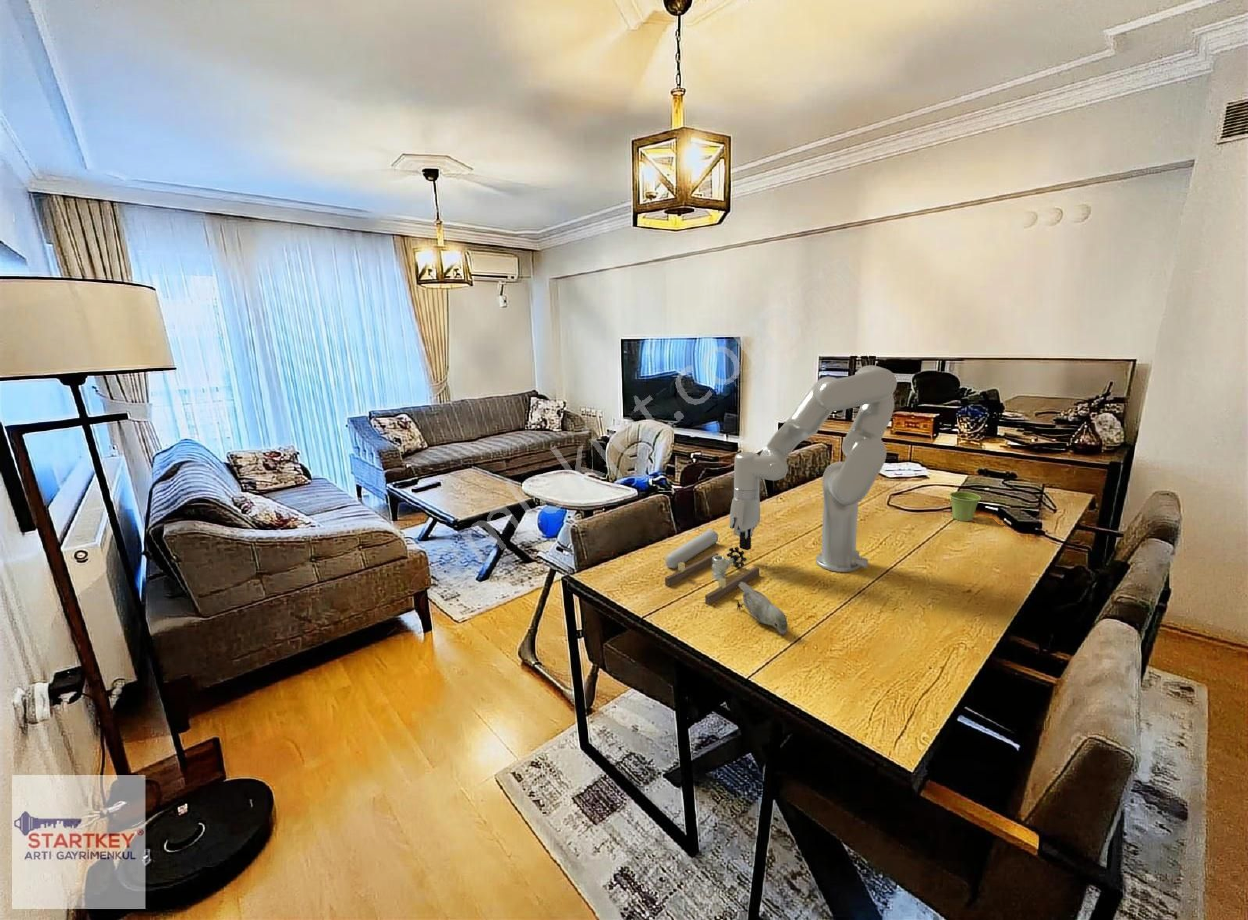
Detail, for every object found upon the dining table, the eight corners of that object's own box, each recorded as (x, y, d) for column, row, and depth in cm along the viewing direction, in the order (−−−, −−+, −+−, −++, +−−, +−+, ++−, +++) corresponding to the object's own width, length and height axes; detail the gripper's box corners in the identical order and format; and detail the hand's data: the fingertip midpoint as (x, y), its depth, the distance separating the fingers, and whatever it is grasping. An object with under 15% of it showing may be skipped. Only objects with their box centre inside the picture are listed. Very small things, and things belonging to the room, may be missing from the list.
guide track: (759, 575, 152) (759, 560, 151) (708, 605, 138) (708, 588, 137) (715, 559, 164) (715, 545, 163) (665, 585, 150) (664, 570, 149)
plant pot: (978, 516, 186) (980, 493, 184) (978, 525, 178) (981, 501, 176) (947, 512, 191) (949, 490, 189) (947, 521, 183) (949, 498, 181)
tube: (677, 561, 157) (720, 533, 175) (663, 552, 160) (707, 526, 178) (673, 574, 159) (716, 546, 177) (660, 565, 162) (703, 538, 180)
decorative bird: (776, 640, 121) (776, 612, 119) (733, 610, 135) (732, 584, 133) (793, 633, 123) (793, 605, 122) (749, 604, 137) (749, 579, 136)
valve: (724, 584, 149) (746, 569, 157) (724, 563, 147) (746, 549, 155) (705, 577, 154) (728, 563, 162) (705, 557, 152) (728, 544, 160)
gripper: (750, 485, 164) (749, 538, 168) (721, 495, 154) (720, 552, 159) (771, 489, 158) (769, 544, 163) (741, 501, 149) (740, 559, 153)
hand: (745, 548), depth 161 cm, fingers closed
